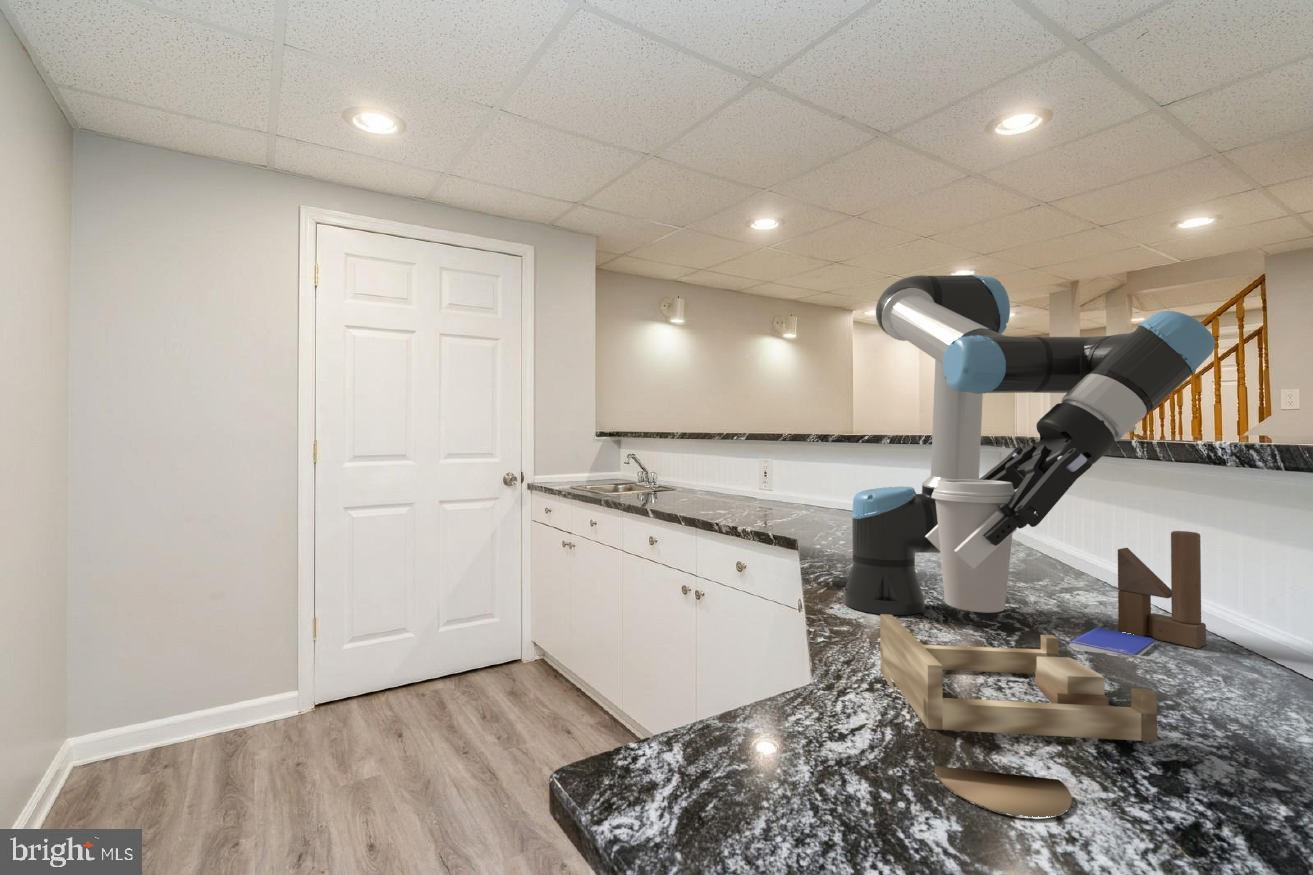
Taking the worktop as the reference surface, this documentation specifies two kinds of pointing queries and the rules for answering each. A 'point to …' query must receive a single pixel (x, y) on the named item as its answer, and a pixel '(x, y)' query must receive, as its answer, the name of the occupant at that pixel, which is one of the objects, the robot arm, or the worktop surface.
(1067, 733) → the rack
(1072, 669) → the offcut top
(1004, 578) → the coffee cup
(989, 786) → the trivet
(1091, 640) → the hard drive
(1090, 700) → the offcut mid
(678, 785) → the worktop surface
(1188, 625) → the brown wooden block structure
